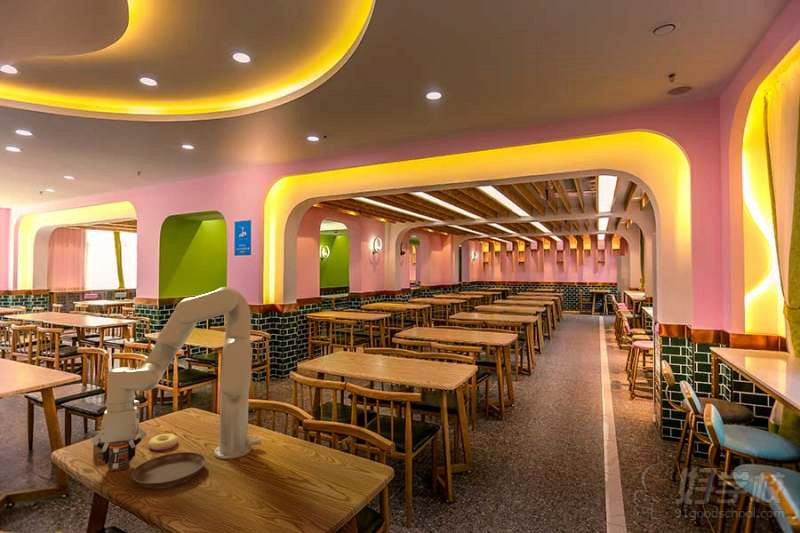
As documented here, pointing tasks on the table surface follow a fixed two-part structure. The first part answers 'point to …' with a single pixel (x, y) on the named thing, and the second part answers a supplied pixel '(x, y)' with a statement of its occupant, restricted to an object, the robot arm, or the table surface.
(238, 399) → the robot arm
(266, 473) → the table surface
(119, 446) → the supplement bottle
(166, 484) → the plant saucer
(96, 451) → the napkin holder
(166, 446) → the donut
